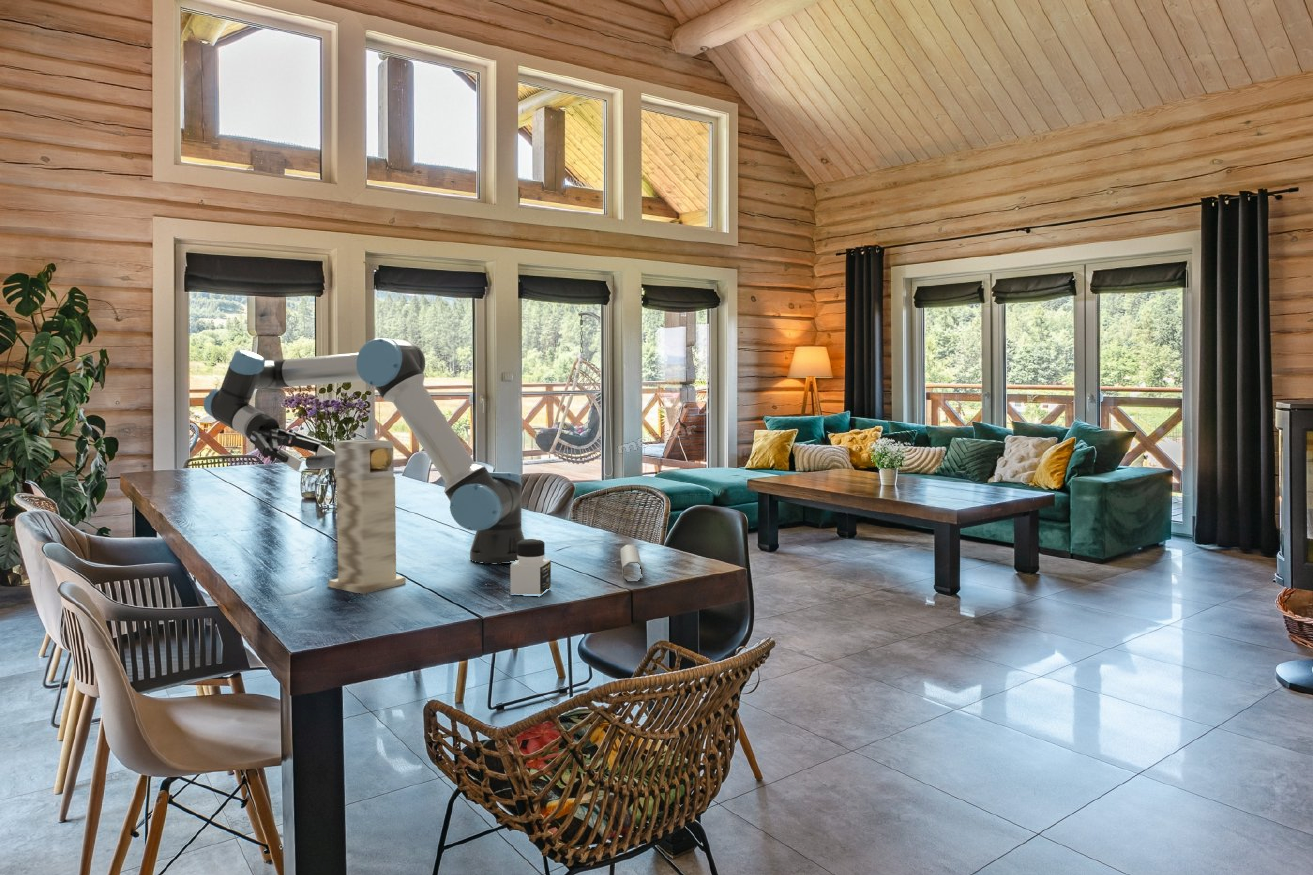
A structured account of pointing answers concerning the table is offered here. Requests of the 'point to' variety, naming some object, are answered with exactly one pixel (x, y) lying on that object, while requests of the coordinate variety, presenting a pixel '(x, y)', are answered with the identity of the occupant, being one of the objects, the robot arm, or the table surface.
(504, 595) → the table surface
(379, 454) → the plug rod
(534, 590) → the medicine bottle
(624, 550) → the tube
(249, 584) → the table surface
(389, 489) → the bore stand
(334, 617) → the table surface
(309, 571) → the table surface
